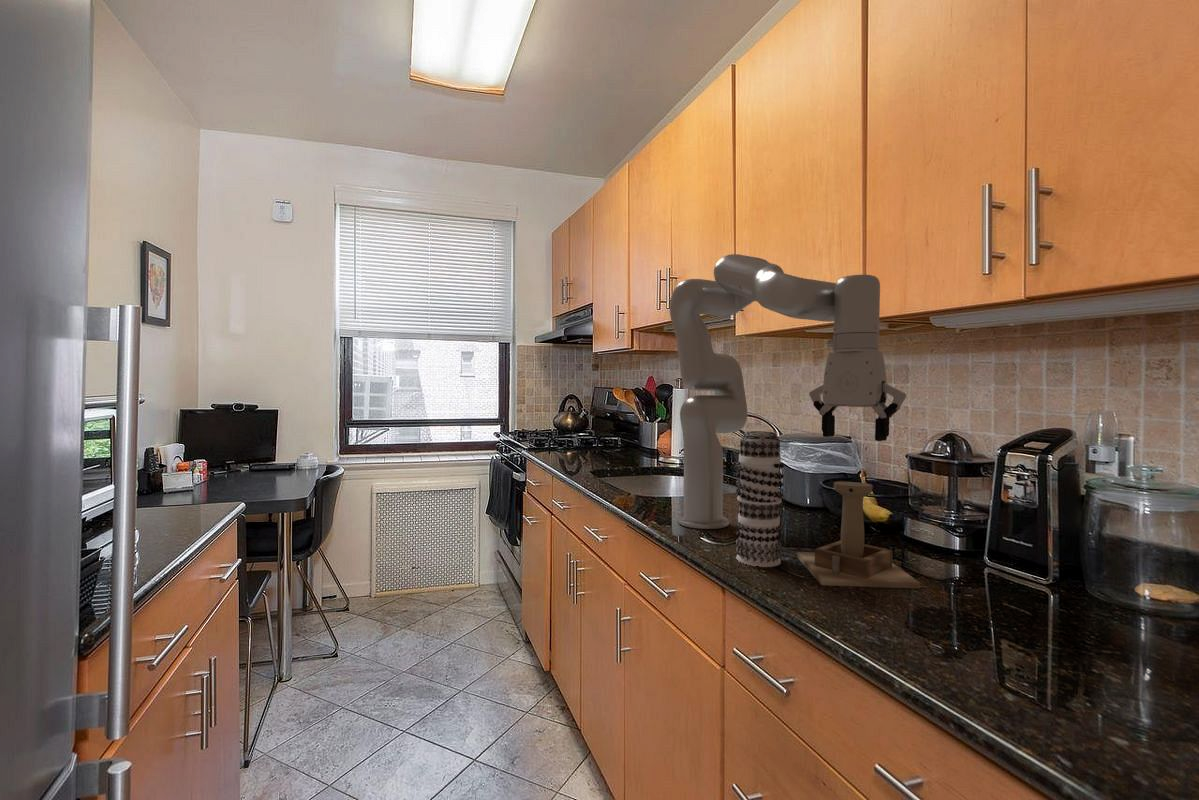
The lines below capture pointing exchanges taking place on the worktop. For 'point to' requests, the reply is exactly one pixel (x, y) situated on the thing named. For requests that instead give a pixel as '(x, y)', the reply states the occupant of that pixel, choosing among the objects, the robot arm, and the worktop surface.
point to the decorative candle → (759, 499)
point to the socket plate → (849, 580)
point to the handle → (852, 516)
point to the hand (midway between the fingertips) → (853, 438)
